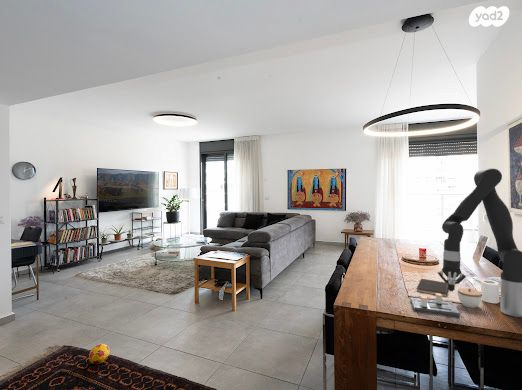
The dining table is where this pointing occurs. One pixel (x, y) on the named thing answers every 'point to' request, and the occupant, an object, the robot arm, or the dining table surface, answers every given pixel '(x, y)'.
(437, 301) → the fader
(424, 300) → the fader
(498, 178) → the robot arm
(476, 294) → the lidded jar
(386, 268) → the dining table surface
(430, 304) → the console
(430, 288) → the hardcover book
